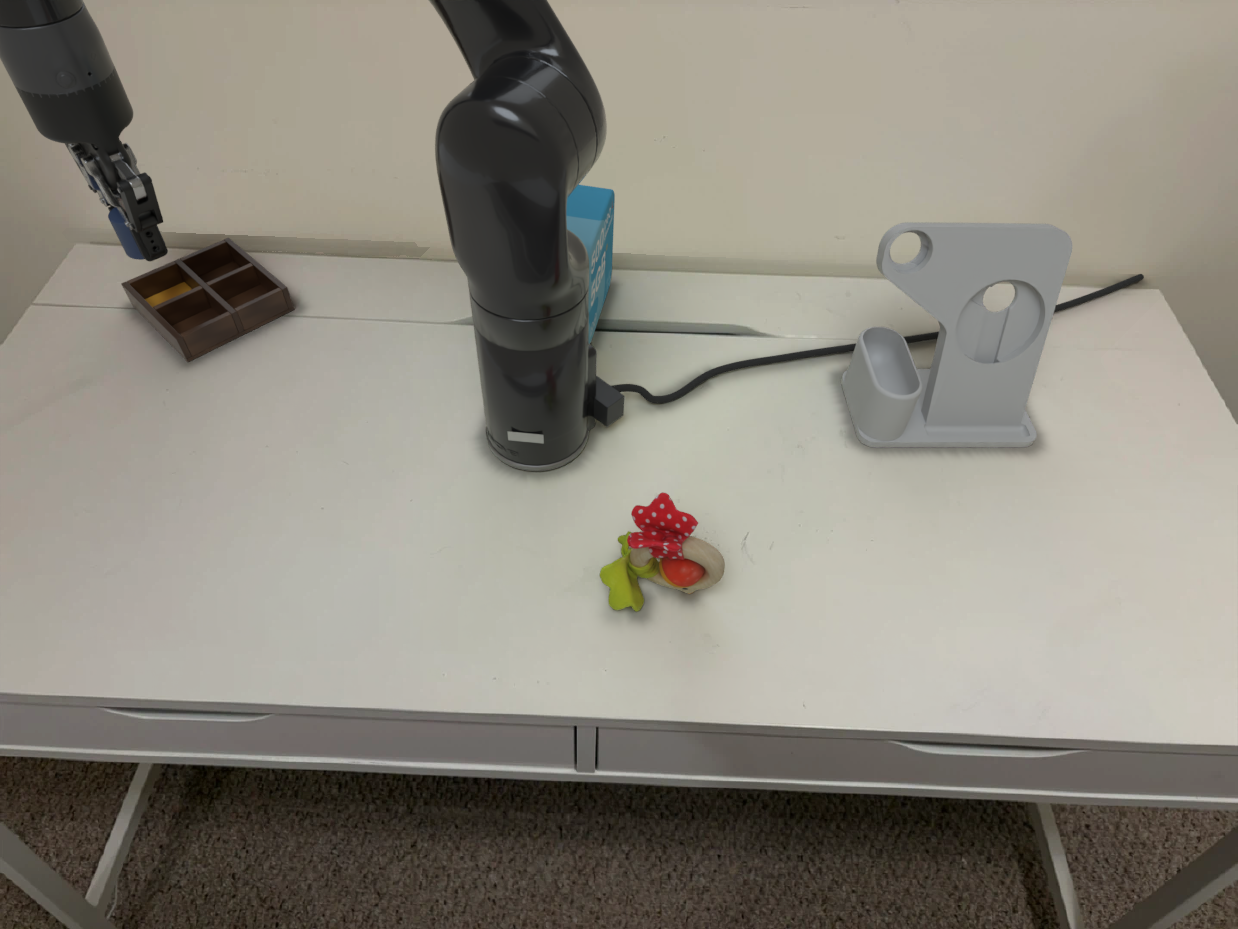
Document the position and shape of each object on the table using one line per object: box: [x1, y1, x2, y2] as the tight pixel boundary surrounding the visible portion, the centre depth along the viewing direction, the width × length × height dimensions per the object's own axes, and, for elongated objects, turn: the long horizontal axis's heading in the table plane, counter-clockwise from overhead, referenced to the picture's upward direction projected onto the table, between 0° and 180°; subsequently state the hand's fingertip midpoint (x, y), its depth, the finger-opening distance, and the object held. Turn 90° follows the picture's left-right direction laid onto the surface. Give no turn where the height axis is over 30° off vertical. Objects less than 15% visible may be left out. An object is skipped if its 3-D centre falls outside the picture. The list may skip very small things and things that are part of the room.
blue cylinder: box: [107, 207, 167, 261], centre depth 79 cm, size 4×4×4 cm
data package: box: [566, 184, 616, 345], centre depth 83 cm, size 12×4×12 cm, turn 169°
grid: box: [121, 237, 295, 363], centre depth 85 cm, size 12×12×3 cm
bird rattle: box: [599, 492, 726, 613], centre depth 62 cm, size 6×11×9 cm
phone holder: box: [840, 221, 1073, 448], centre depth 73 cm, size 17×10×18 cm, turn 92°
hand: (146, 246), depth 80 cm, fingers closed on blue cylinder, 3 cm apart
